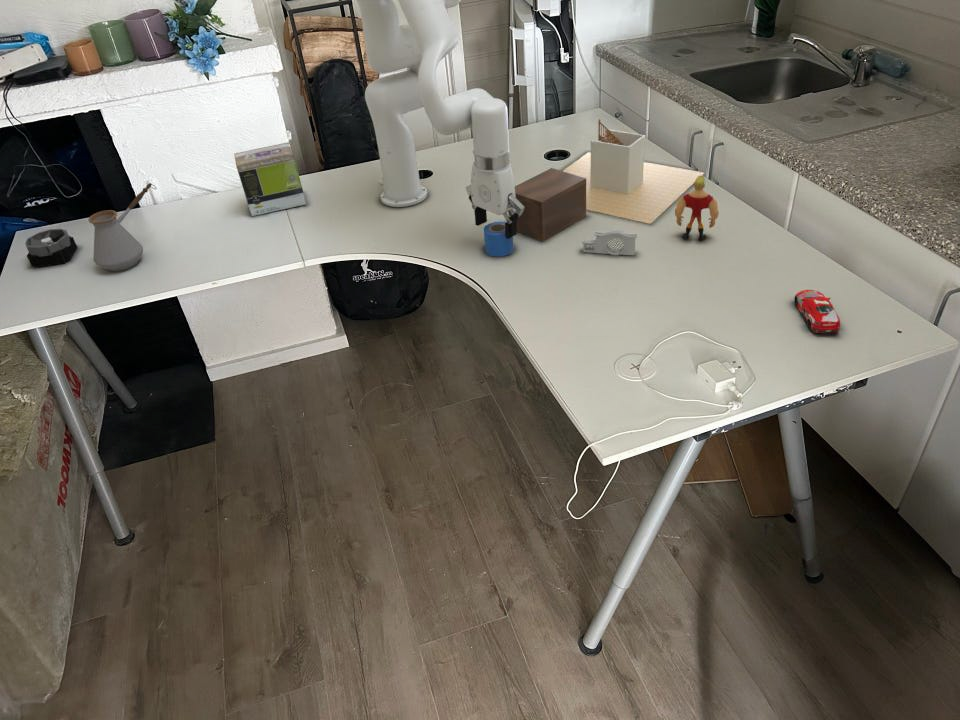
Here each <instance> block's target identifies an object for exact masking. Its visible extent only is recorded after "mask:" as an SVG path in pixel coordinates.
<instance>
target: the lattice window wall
mask: <svg viewBox="0 0 960 720" xmlns="http://www.w3.org/2000/svg"><path fill="white" fill-rule="evenodd" d="M594 236H595V238H594V239H592V238H591V239H589V238H588V239H586V238H583V239H582V240H581V241H582V242H581V243H582V252H583V253H587V254H588V253H590V254H604V255H605V254H606V255H611V256H619V255H620V256H621V255H622V256H635V255H636V241H637V240H636V239H637V238H638V233H637V232H634V233H629V232H626V231H624V230H621V229H619V228H618V229H610V230H606V231H597V230H595V231H594Z"/></svg>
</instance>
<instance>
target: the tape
mask: <svg viewBox="0 0 960 720" xmlns="http://www.w3.org/2000/svg"><path fill="white" fill-rule="evenodd" d="M506 222H507V221H493V222H490V223H487V224H486V225H485V226H483V235H484V236H483V238H484V239H483V240H484V252H485V253H486V254H487V255H488V256H491V257H498V258H499V257H506V256H508V255H510V254H512V253H513V252H514V249H515V248H514V245H515V244H514V236H513V237H511V238H509V239H507V238H506V237H505V223H506Z"/></svg>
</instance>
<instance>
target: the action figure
mask: <svg viewBox="0 0 960 720" xmlns="http://www.w3.org/2000/svg"><path fill="white" fill-rule="evenodd" d="M705 187H706V184H705V178H704V176H703V175H702V176H698V177H697V178H696V180H695V182H694V183H693V188H694V190H692V191H691V192H689V193H686V194H683V196H682V197H679V198H678V201H677V204H676V207H675V209H674V216H675V218H676V224H677V225H678V227H682V225H683V224H682V223H683V220H682V219H685V217H684V216H683V213H684V210H685V208H689V209H691V215H690V219H689V222H688V223H687V224H686V227H685V232H683V233H682V235H681V237H682V238H683V239H684V240H686V241H688V240H690V233H691V230H692V229H693V224H694V222H695V220H696V221H697V225H698V226H697V231H698V241H699V242H702V241H704V240H705V239H707V235H706V234H705V233H704V232H705V231H704V225H703V222H702V211H703V210H705V209H706V210H707V209H708V210H709V216H710V217H709V218H708V220H709V225H708V228H709V229H711V228H713V227H714V226H715V225H716V220H717V219H718V217H719V214H720V212H719V208H718V207H719V206H718V202H717V200H716V199H715V198H714V197H713V196H712V195H711V194H709V193H707V192H705V190H704V188H705Z"/></svg>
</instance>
